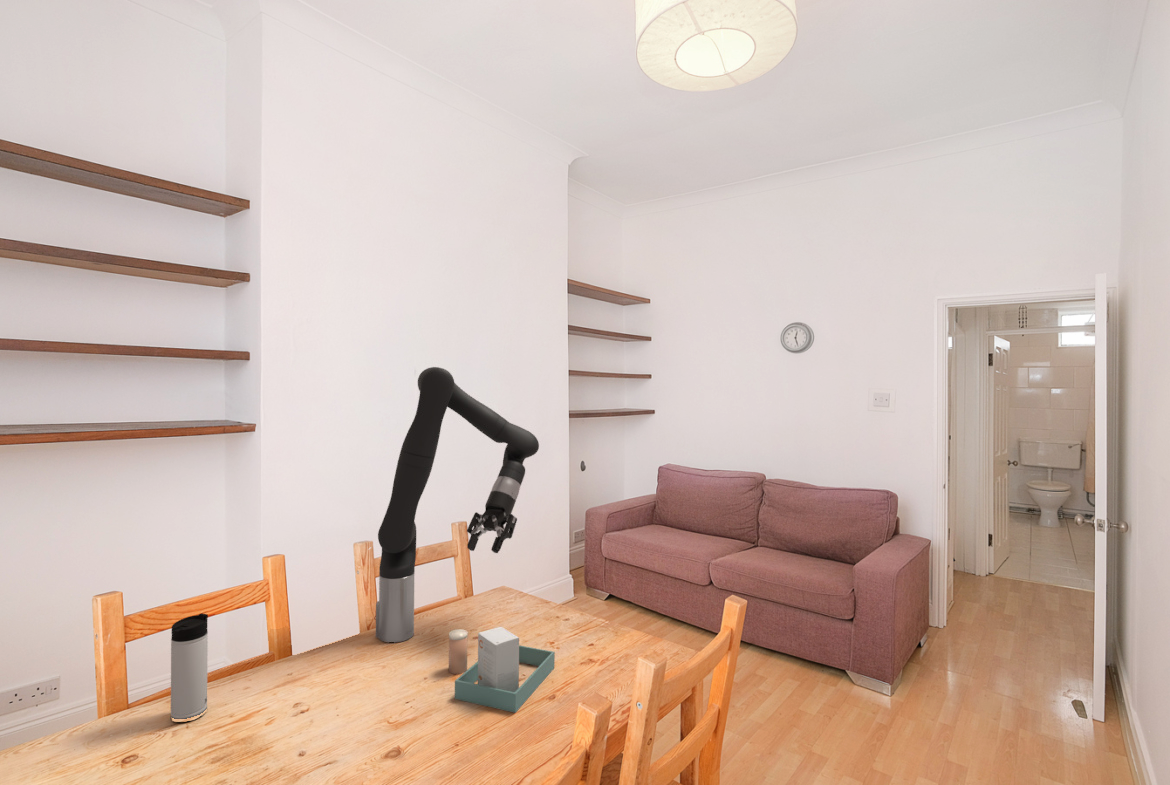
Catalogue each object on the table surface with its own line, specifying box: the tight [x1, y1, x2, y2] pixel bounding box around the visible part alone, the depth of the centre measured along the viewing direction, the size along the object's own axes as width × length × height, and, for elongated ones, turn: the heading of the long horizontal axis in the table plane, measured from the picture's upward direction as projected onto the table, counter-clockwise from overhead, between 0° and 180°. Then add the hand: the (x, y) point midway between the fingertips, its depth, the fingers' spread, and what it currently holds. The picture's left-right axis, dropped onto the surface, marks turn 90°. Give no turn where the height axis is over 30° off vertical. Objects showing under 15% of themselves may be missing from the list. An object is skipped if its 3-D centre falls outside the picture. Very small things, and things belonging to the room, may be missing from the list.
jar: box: [448, 628, 468, 675], centre depth 141 cm, size 4×4×9 cm
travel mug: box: [170, 612, 209, 719], centre depth 120 cm, size 6×7×20 cm
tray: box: [454, 644, 556, 713], centre depth 135 cm, size 15×21×4 cm
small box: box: [476, 626, 520, 692], centre depth 131 cm, size 8×6×13 cm
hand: (482, 550), depth 153 cm, fingers open, 8 cm apart
